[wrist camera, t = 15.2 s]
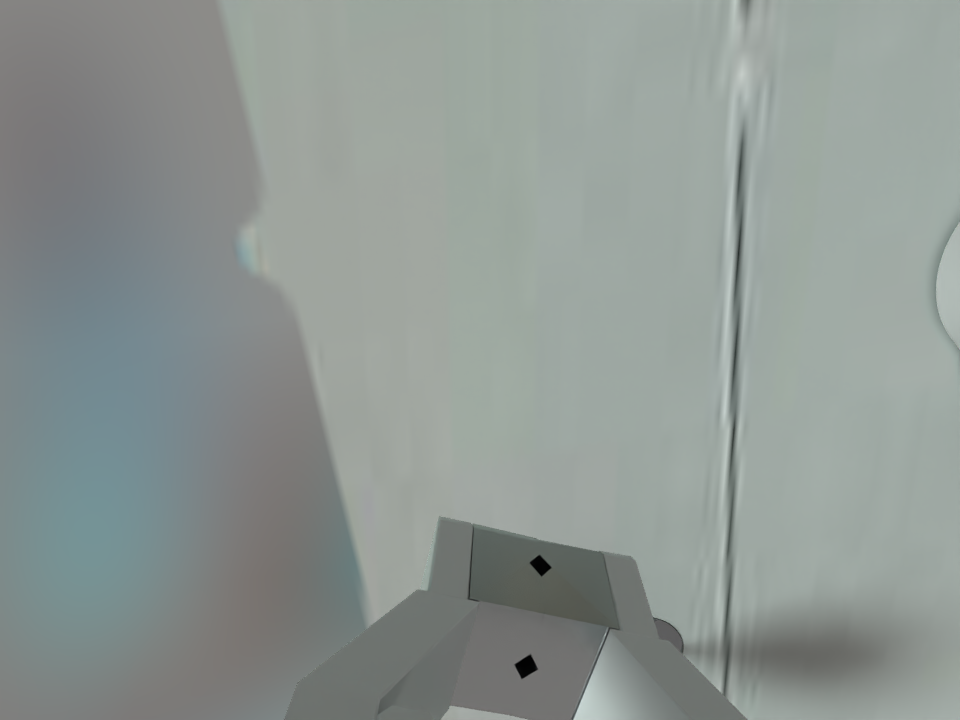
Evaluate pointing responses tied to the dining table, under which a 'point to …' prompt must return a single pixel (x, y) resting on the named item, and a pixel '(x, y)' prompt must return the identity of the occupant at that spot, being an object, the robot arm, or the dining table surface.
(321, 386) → the dining table surface
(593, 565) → the robot arm
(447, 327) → the dining table surface
